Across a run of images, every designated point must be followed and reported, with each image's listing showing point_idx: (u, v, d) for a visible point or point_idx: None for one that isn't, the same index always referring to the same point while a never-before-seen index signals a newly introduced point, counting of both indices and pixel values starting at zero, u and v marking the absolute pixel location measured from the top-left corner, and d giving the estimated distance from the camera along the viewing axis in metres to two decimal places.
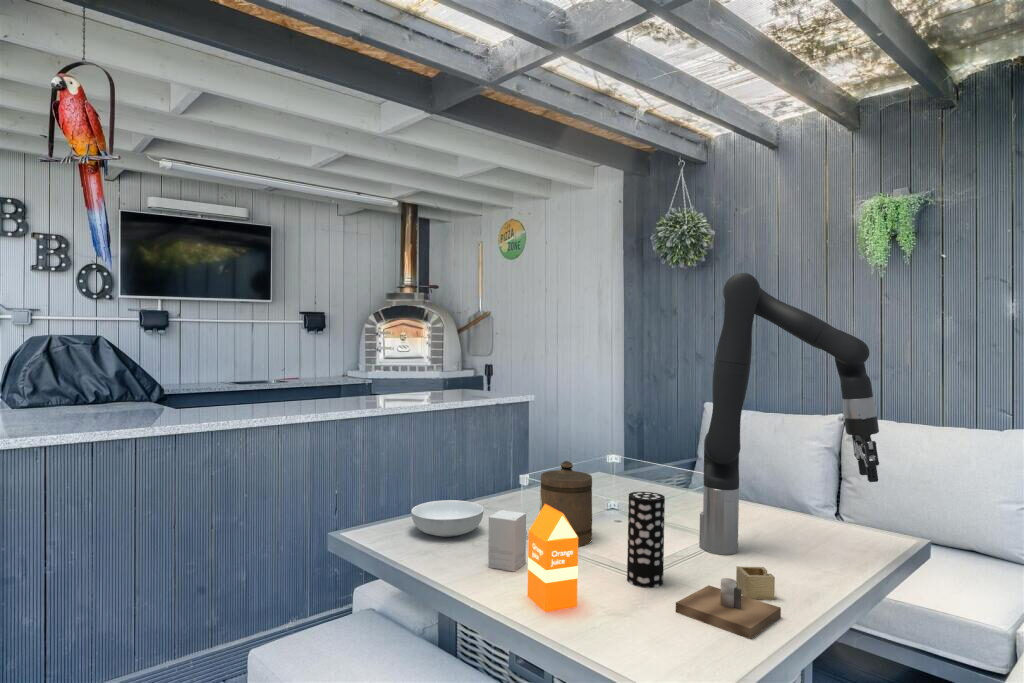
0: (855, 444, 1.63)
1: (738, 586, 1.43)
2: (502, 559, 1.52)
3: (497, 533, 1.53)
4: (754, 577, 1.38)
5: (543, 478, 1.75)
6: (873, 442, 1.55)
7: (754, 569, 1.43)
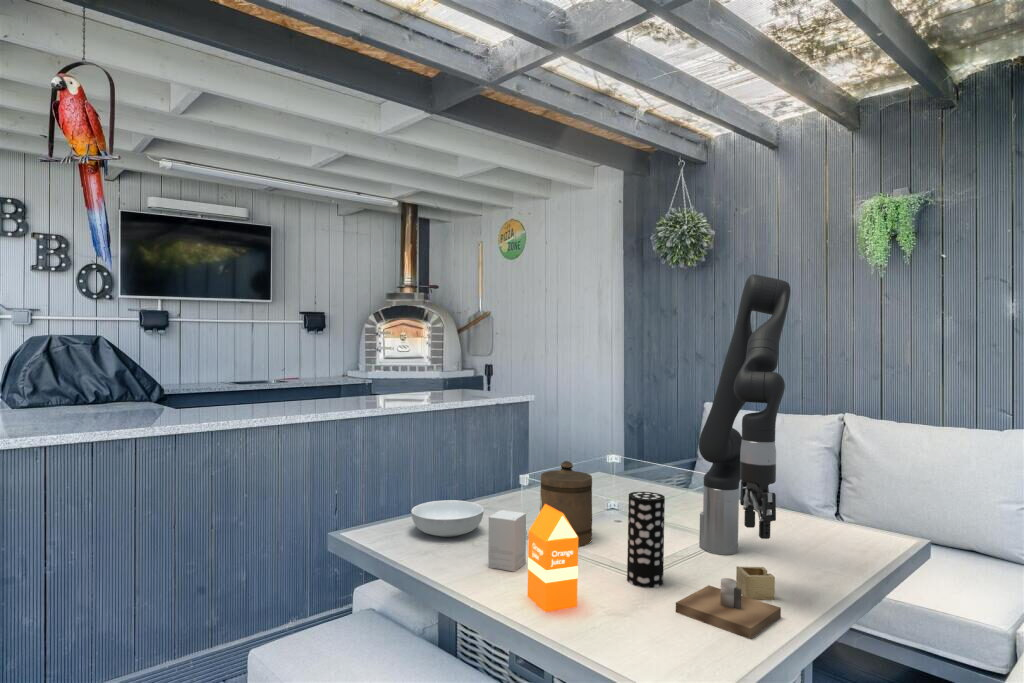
0: None
1: (738, 586, 1.43)
2: (502, 559, 1.52)
3: (497, 533, 1.53)
4: (754, 577, 1.38)
5: (543, 478, 1.75)
6: None
7: (754, 569, 1.43)
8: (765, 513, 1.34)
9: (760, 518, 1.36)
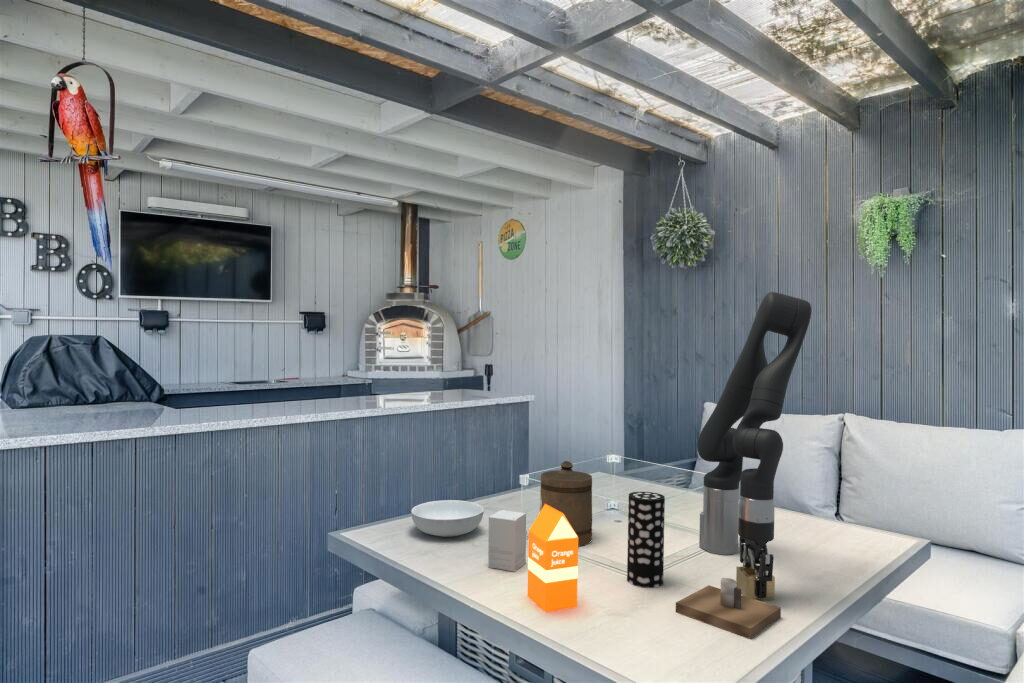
0: None
1: (738, 586, 1.43)
2: (502, 559, 1.52)
3: (497, 533, 1.53)
4: (754, 577, 1.38)
5: (543, 478, 1.75)
6: None
7: None
8: (762, 574, 1.35)
9: (756, 577, 1.37)
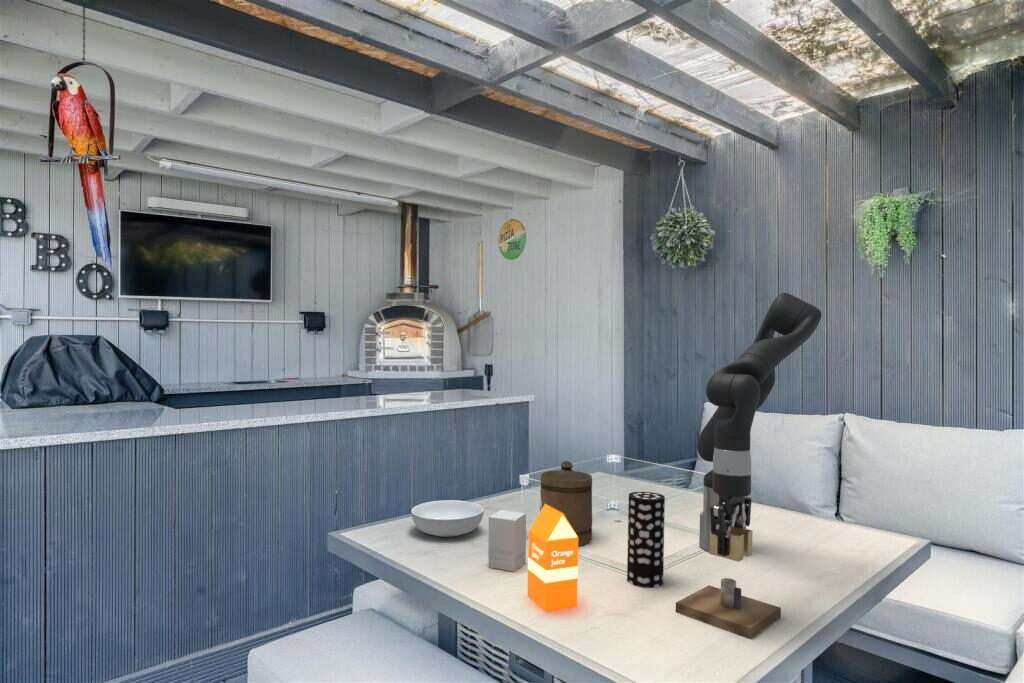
0: (738, 508, 1.28)
1: None
2: (502, 559, 1.52)
3: (497, 533, 1.53)
4: None
5: (543, 478, 1.75)
6: None
7: (739, 530, 1.31)
8: (712, 527, 1.26)
9: None
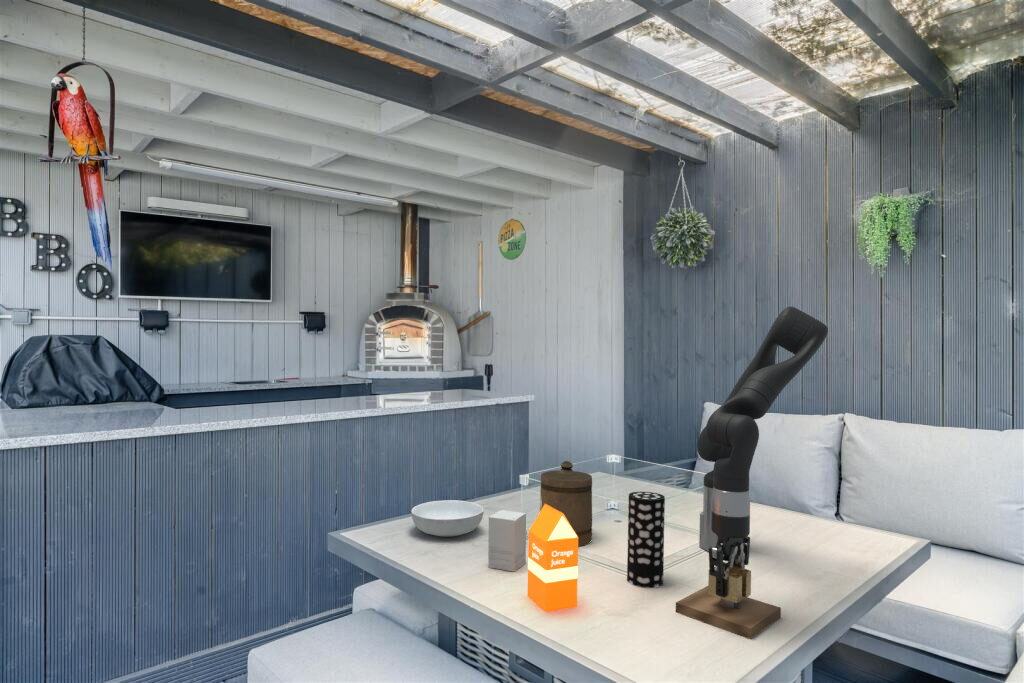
0: (737, 549, 1.28)
1: None
2: (502, 559, 1.52)
3: (497, 533, 1.53)
4: None
5: (543, 478, 1.75)
6: None
7: (737, 569, 1.31)
8: (710, 568, 1.26)
9: None
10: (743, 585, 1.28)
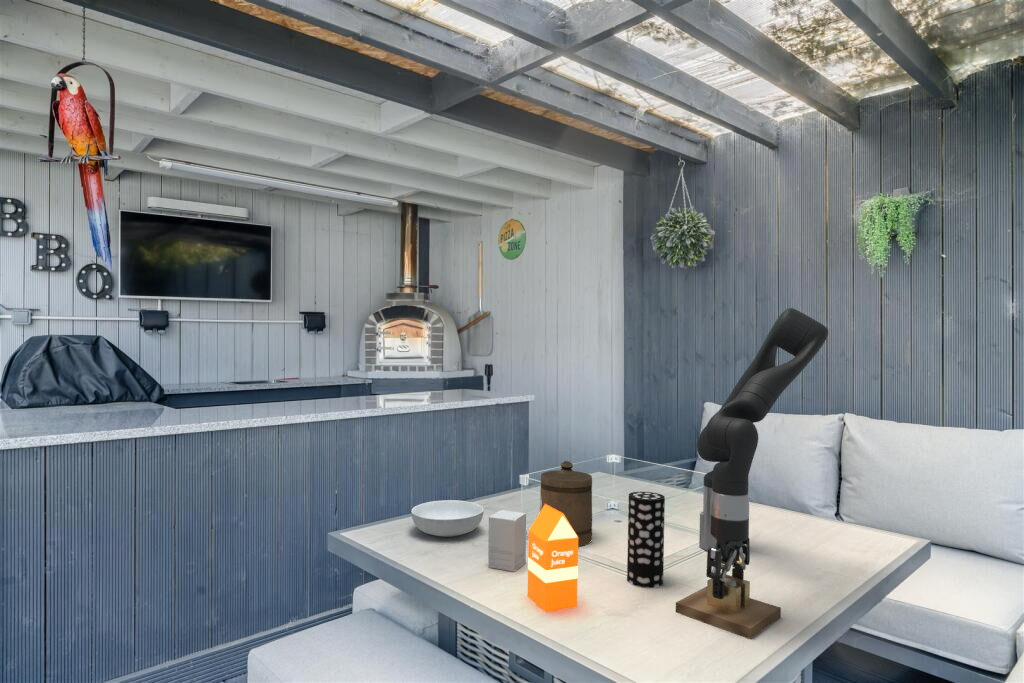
0: (736, 553, 1.28)
1: None
2: (502, 559, 1.52)
3: (497, 533, 1.53)
4: None
5: (543, 478, 1.75)
6: None
7: (736, 580, 1.31)
8: (707, 569, 1.25)
9: None
10: (742, 596, 1.28)
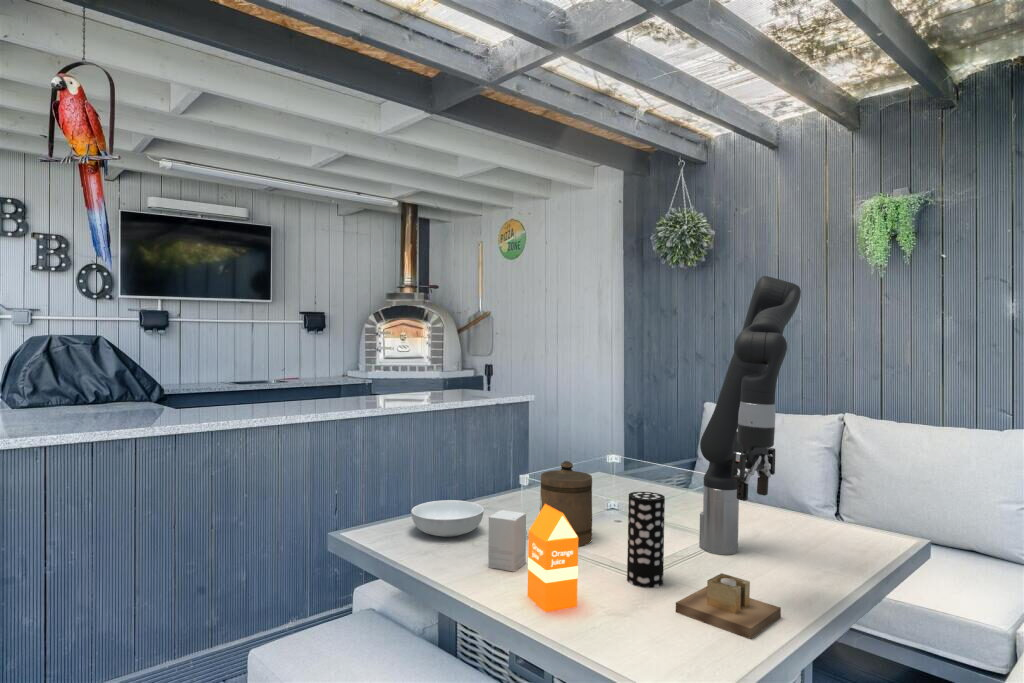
0: (760, 459, 1.35)
1: None
2: (502, 559, 1.52)
3: (497, 533, 1.53)
4: (715, 584, 1.28)
5: (543, 478, 1.75)
6: None
7: (736, 580, 1.31)
8: (732, 471, 1.33)
9: None
10: (742, 596, 1.28)
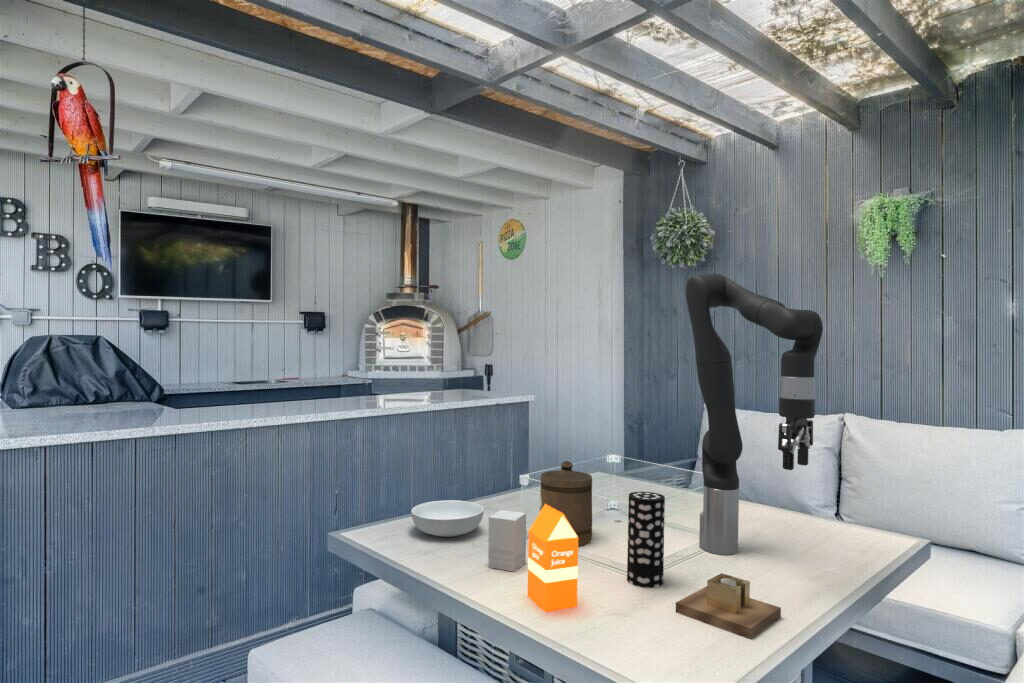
0: (803, 430, 1.42)
1: None
2: (502, 559, 1.52)
3: (497, 533, 1.53)
4: (715, 584, 1.28)
5: (543, 478, 1.75)
6: None
7: (736, 580, 1.31)
8: (779, 442, 1.40)
9: None
10: (742, 596, 1.28)
